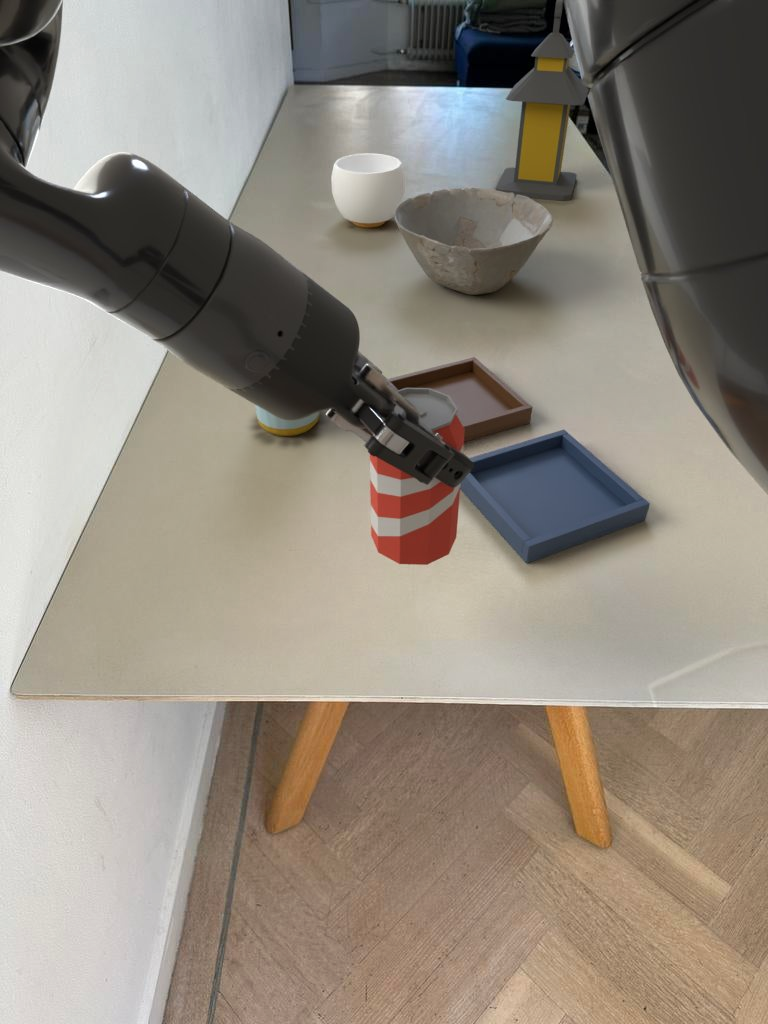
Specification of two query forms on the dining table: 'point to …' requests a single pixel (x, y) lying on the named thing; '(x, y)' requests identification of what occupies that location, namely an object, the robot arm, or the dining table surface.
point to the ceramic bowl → (472, 236)
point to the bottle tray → (472, 396)
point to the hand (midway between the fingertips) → (436, 446)
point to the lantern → (545, 121)
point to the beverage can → (417, 492)
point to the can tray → (550, 495)
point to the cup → (368, 188)
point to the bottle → (285, 423)
